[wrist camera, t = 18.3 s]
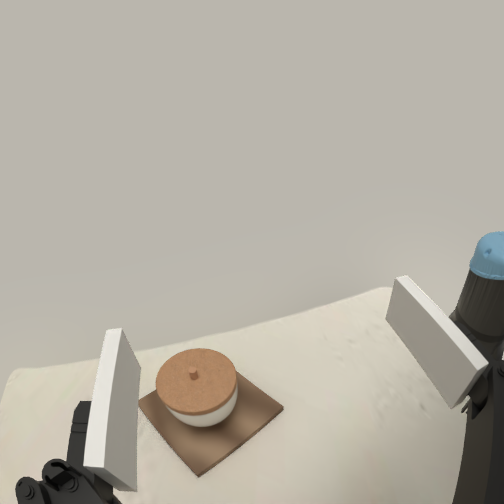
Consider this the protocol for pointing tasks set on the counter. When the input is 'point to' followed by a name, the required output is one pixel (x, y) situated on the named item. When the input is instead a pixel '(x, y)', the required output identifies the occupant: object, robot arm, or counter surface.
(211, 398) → the lidded jar
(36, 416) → the counter surface
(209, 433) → the walnut board
